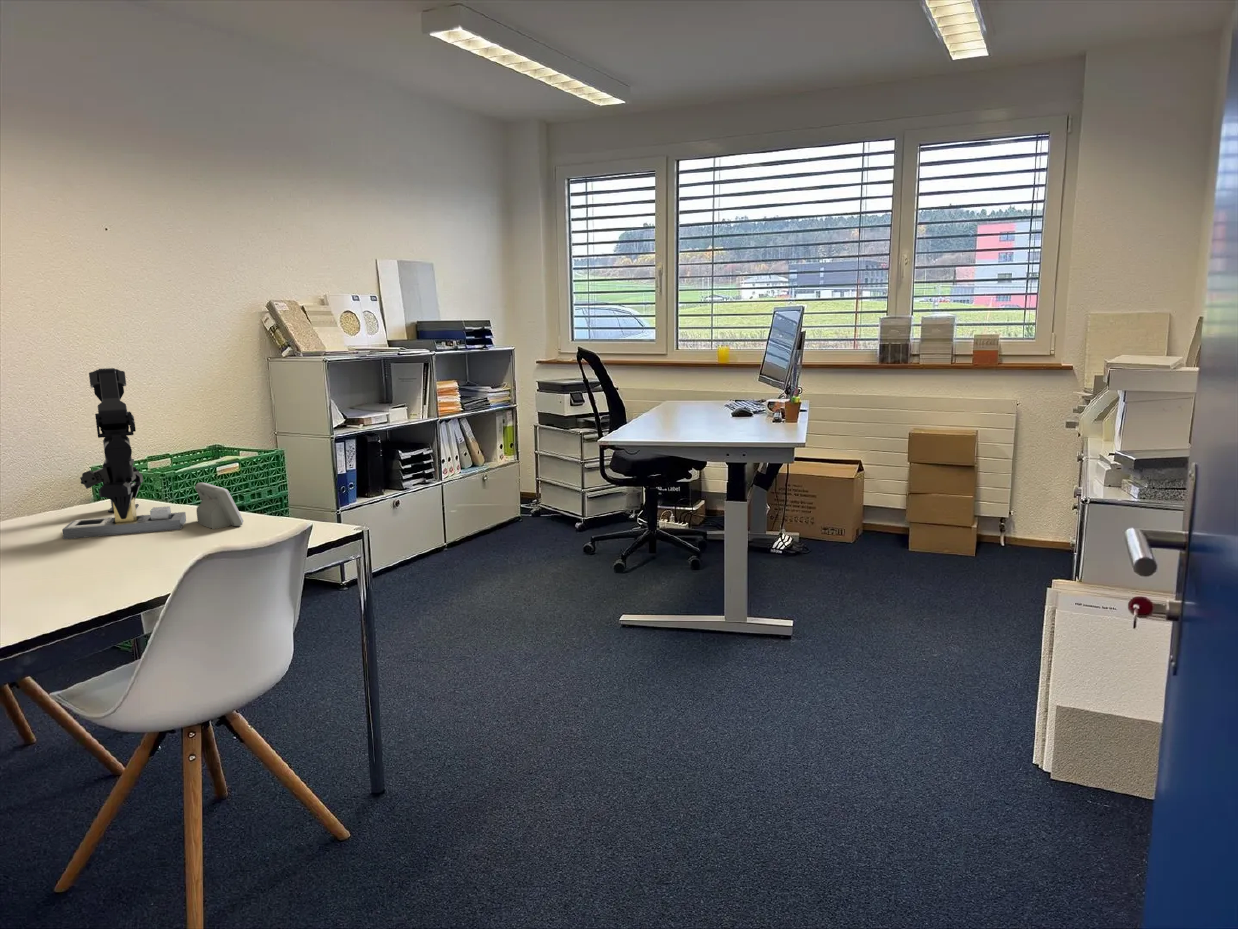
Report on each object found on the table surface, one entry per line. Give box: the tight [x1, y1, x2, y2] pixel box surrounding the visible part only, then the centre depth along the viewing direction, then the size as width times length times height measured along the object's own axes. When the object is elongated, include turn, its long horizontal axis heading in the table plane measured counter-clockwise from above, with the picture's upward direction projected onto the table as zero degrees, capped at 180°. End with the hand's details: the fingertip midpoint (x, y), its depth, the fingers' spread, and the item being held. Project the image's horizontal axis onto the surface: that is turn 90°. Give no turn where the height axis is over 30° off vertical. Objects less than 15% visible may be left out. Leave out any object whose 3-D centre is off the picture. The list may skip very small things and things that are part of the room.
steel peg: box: [149, 505, 172, 521], centre depth 211 cm, size 4×4×5 cm
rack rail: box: [62, 511, 187, 540], centre depth 208 cm, size 9×26×3 cm, turn 110°
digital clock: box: [194, 482, 244, 530], centre depth 213 cm, size 16×9×11 cm, turn 39°
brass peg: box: [113, 498, 138, 524], centre depth 208 cm, size 4×4×8 cm
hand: (125, 516), depth 208 cm, fingers open, 5 cm apart
